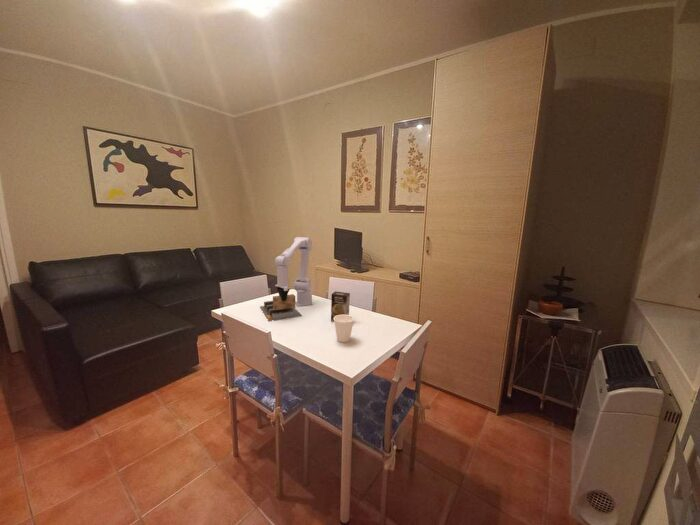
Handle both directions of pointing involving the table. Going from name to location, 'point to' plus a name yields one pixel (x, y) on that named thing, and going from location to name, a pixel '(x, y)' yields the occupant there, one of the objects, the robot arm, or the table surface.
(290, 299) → the brown wooden block
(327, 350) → the table surface
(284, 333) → the table surface
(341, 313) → the coffee box
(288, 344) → the table surface
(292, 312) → the rack
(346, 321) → the cup
